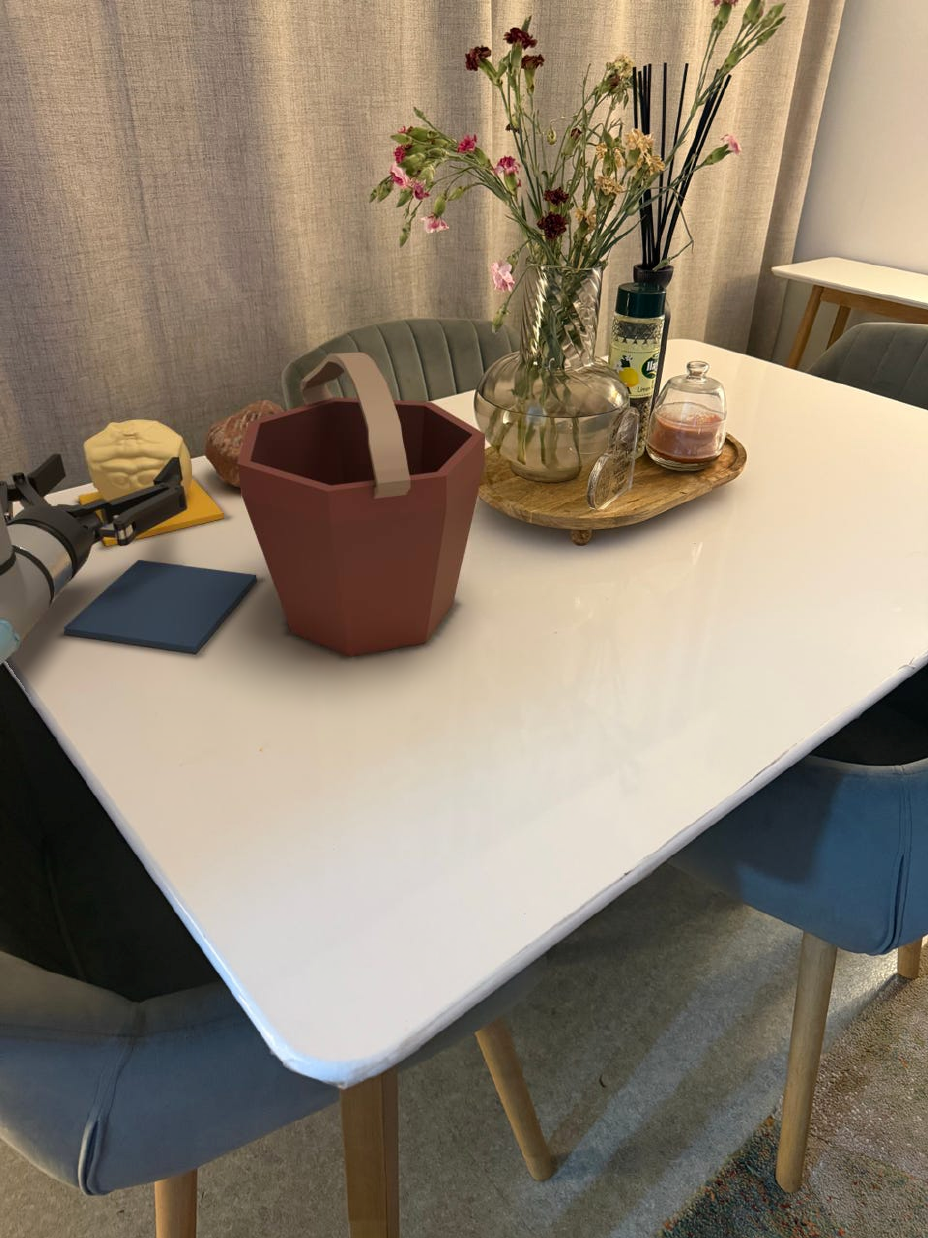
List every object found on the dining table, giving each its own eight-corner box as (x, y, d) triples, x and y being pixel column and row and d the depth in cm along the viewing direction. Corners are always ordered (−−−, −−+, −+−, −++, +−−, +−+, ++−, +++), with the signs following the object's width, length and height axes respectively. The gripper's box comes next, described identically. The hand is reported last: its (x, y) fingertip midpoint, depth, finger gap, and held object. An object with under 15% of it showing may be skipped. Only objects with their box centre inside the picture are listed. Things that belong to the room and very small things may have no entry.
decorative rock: (264, 452, 125) (255, 383, 120) (322, 472, 120) (316, 400, 115) (191, 484, 116) (178, 410, 111) (250, 506, 111) (240, 430, 106)
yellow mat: (106, 546, 102) (105, 540, 102) (79, 501, 112) (77, 495, 111) (224, 518, 108) (223, 512, 108) (188, 477, 118) (187, 472, 118)
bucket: (276, 554, 101) (248, 331, 87) (469, 546, 103) (471, 326, 89) (255, 684, 80) (215, 420, 67) (496, 671, 82) (505, 412, 69)
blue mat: (65, 634, 87) (63, 627, 87) (139, 565, 98) (138, 559, 98) (196, 653, 84) (195, 647, 84) (257, 581, 96) (256, 574, 95)
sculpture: (91, 528, 104) (70, 441, 98) (109, 486, 114) (91, 404, 108) (192, 522, 106) (177, 436, 100) (201, 481, 115) (188, 400, 110)
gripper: (-83, 587, 85) (19, 493, 103) (173, 595, 85) (231, 499, 102) (-110, 517, 81) (2, 432, 99) (159, 525, 81) (222, 437, 98)
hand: (118, 466), depth 101 cm, fingers open, 13 cm apart
